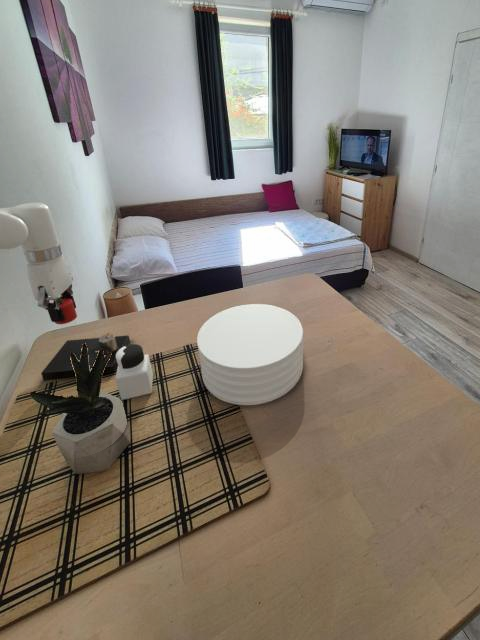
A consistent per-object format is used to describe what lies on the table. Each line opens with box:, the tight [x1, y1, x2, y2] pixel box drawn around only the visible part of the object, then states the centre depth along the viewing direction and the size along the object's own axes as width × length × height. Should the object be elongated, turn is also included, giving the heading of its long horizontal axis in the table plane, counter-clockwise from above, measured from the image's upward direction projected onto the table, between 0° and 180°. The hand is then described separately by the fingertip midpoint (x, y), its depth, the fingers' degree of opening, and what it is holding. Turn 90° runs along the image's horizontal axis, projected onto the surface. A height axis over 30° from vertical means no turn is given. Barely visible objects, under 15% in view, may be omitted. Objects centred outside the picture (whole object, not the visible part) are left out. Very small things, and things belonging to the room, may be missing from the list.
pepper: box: [52, 297, 78, 325], centre depth 87 cm, size 5×5×7 cm
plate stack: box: [196, 303, 304, 406], centre depth 89 cm, size 28×28×12 cm
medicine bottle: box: [115, 343, 154, 401], centre depth 82 cm, size 7×7×12 cm
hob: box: [40, 334, 131, 381], centre depth 94 cm, size 19×14×3 cm
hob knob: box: [98, 332, 118, 355], centre depth 93 cm, size 4×4×5 cm
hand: (64, 314), depth 88 cm, fingers closed on pepper, 5 cm apart
